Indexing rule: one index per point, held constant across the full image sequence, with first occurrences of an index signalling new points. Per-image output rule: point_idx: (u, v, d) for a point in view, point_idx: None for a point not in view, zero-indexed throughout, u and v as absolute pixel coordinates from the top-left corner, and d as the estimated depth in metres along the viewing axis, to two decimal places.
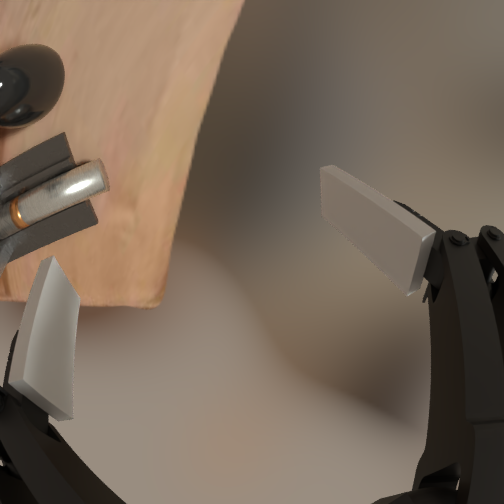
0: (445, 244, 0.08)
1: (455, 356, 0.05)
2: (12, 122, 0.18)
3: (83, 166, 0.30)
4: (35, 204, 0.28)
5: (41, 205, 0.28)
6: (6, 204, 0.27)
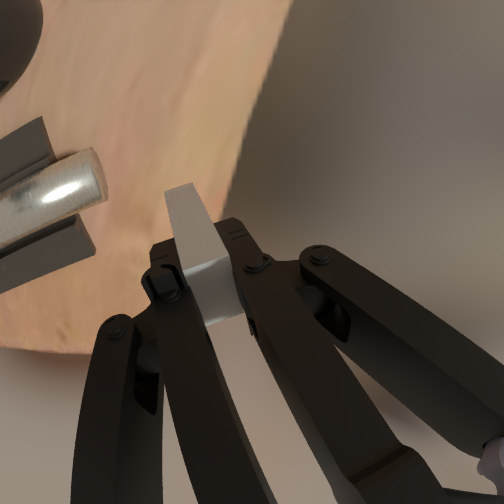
0: (240, 278, 0.08)
1: (300, 406, 0.06)
2: None
3: (67, 157, 0.18)
4: None
5: None
6: None
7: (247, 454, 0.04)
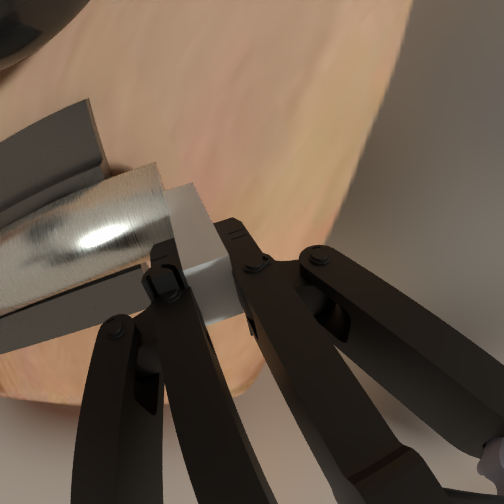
0: (239, 278, 0.08)
1: (300, 406, 0.05)
2: None
3: (115, 176, 0.12)
4: None
5: (2, 271, 0.10)
6: None
7: (247, 454, 0.04)
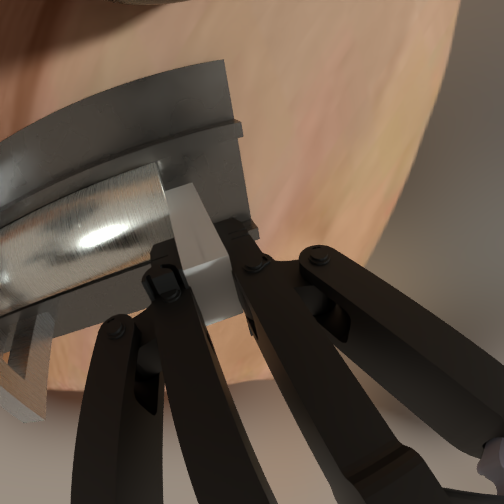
0: (239, 278, 0.08)
1: (300, 406, 0.05)
2: None
3: (115, 176, 0.12)
4: None
5: (3, 271, 0.10)
6: None
7: (247, 454, 0.04)
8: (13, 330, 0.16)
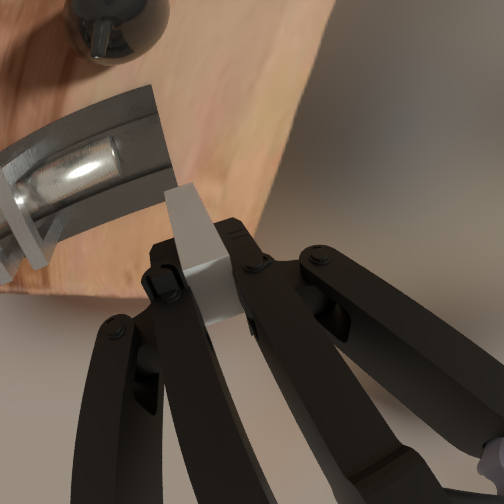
0: (240, 278, 0.08)
1: (300, 406, 0.05)
2: (118, 42, 0.15)
3: (92, 143, 0.25)
4: (30, 184, 0.23)
5: (36, 184, 0.23)
6: None
7: (247, 454, 0.04)
8: None
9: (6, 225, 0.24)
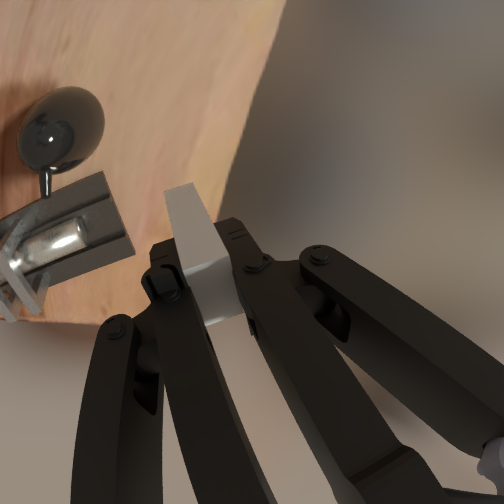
0: (240, 278, 0.08)
1: (300, 406, 0.05)
2: (61, 172, 0.24)
3: None
4: (23, 253, 0.31)
5: (27, 254, 0.32)
6: None
7: (247, 454, 0.04)
8: (31, 283, 0.38)
9: None
